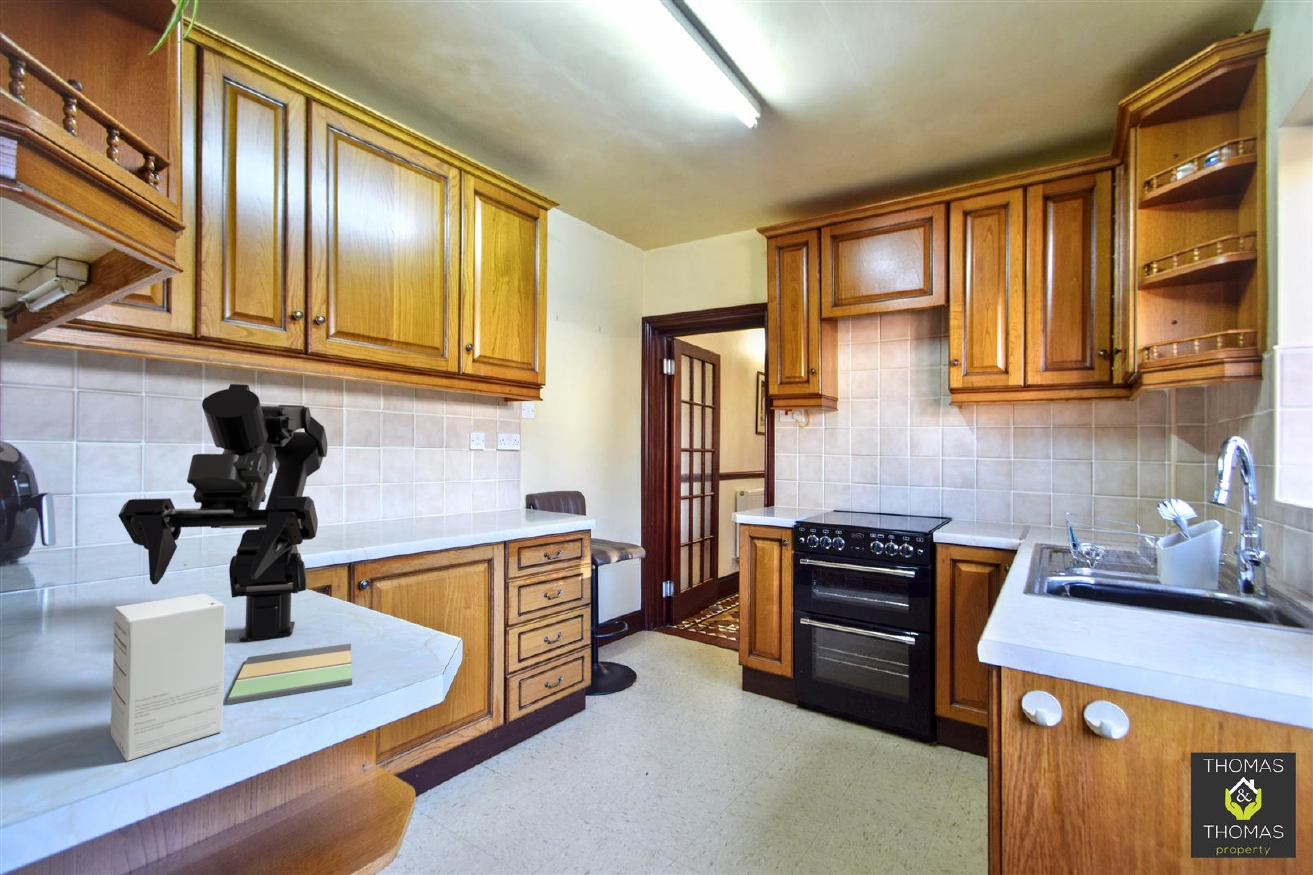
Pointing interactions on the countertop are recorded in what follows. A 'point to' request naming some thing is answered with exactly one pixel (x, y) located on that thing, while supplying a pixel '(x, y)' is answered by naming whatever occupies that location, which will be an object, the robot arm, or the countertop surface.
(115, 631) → the supplement box
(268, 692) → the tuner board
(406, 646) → the countertop surface
